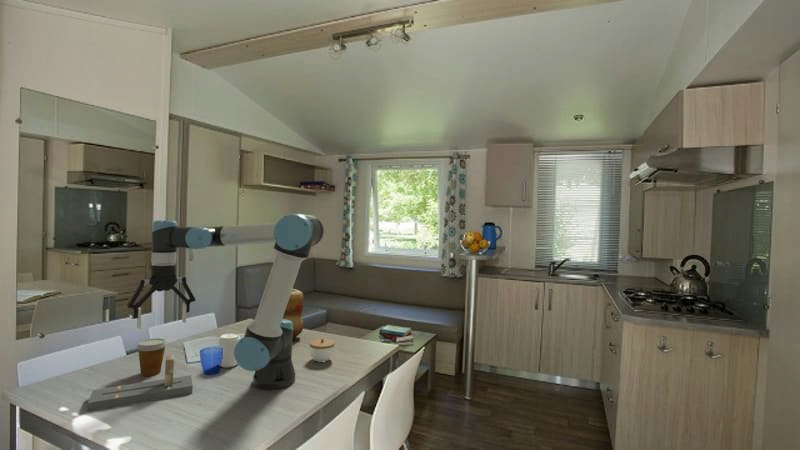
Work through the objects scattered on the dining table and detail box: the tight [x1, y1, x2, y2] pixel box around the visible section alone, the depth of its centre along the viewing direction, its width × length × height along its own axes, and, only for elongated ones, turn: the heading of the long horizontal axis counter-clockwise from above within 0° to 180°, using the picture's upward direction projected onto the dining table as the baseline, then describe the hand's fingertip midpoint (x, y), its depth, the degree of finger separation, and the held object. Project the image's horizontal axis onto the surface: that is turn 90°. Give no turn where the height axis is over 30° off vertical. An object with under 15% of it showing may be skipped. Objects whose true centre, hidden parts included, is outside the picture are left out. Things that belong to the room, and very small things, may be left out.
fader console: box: [86, 374, 193, 412], centre depth 126 cm, size 28×10×3 cm, turn 122°
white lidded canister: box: [218, 332, 241, 368], centre depth 155 cm, size 8×8×12 cm
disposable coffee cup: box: [136, 337, 168, 377], centre depth 144 cm, size 10×10×12 cm
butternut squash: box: [282, 288, 305, 339], centre depth 193 cm, size 14×13×25 cm
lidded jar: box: [309, 338, 335, 363], centre depth 165 cm, size 11×11×9 cm
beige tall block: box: [164, 354, 175, 387], centre depth 130 cm, size 2×4×9 cm, turn 32°
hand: (162, 324), depth 133 cm, fingers open, 13 cm apart
